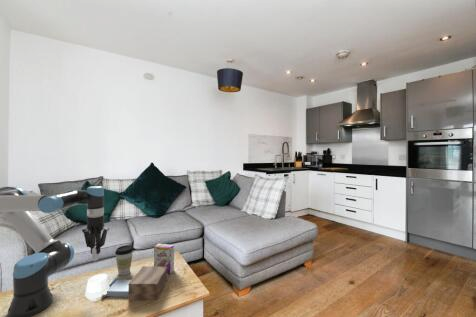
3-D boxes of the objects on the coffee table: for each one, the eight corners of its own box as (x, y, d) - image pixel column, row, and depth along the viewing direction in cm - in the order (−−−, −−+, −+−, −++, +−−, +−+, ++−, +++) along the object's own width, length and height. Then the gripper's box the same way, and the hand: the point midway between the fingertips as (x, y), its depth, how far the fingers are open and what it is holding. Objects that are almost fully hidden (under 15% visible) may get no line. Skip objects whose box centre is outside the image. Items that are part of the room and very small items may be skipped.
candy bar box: (153, 272, 131) (153, 246, 130) (157, 268, 135) (158, 243, 135) (170, 274, 129) (170, 248, 128) (174, 270, 134) (174, 244, 133)
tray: (101, 296, 109) (101, 288, 109) (113, 284, 119) (113, 277, 119) (129, 297, 109) (129, 289, 109) (138, 285, 119) (138, 277, 119)
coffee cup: (125, 277, 125) (125, 252, 125) (111, 275, 127) (111, 250, 126) (136, 269, 134) (136, 245, 134) (123, 267, 136) (123, 244, 136)
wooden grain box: (128, 300, 106) (128, 283, 106) (142, 280, 122) (142, 266, 122) (156, 300, 106) (156, 283, 106) (167, 280, 122) (167, 266, 122)
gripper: (77, 217, 109) (77, 263, 109) (104, 217, 109) (104, 263, 110) (87, 213, 116) (87, 256, 117) (112, 213, 117) (112, 256, 117)
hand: (95, 259), depth 113 cm, fingers closed
